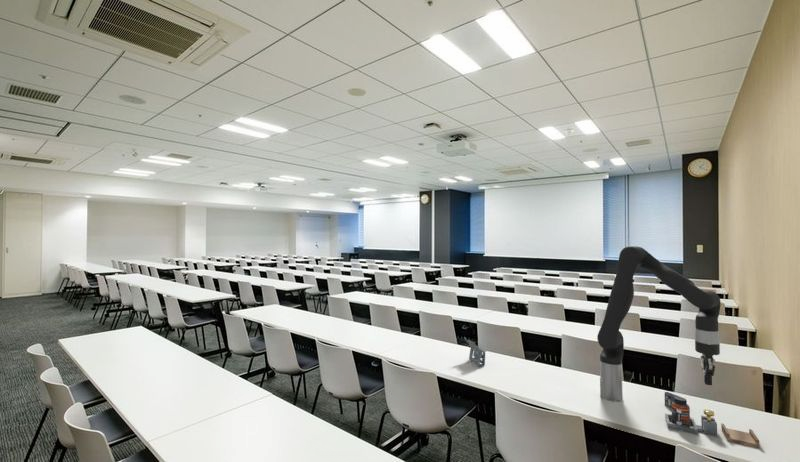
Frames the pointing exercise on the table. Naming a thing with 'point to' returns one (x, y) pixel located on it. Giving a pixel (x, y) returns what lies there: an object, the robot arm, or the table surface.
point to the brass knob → (708, 414)
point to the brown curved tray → (740, 436)
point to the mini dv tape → (669, 399)
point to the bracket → (476, 354)
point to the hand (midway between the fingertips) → (708, 384)
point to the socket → (695, 426)
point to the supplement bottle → (680, 412)
